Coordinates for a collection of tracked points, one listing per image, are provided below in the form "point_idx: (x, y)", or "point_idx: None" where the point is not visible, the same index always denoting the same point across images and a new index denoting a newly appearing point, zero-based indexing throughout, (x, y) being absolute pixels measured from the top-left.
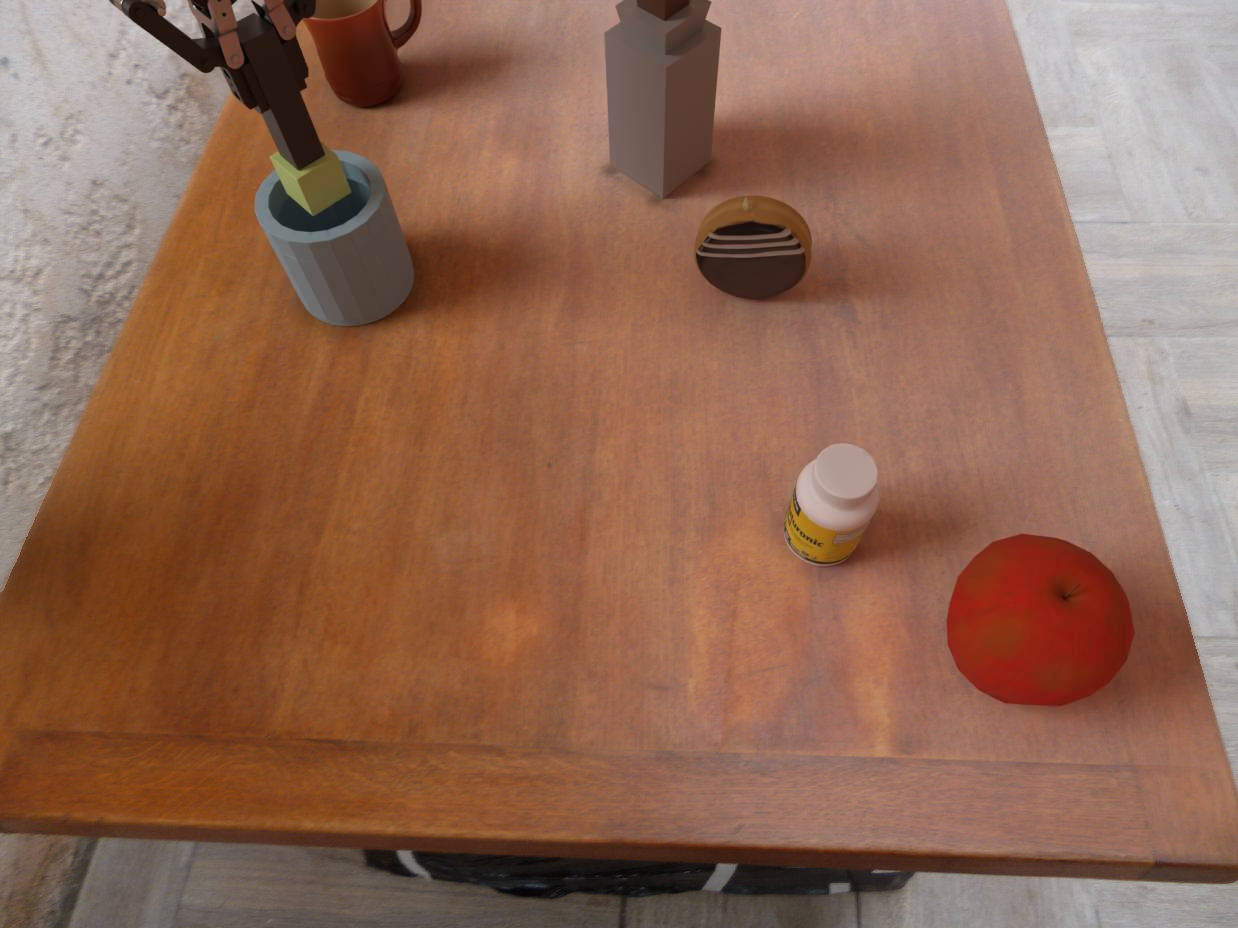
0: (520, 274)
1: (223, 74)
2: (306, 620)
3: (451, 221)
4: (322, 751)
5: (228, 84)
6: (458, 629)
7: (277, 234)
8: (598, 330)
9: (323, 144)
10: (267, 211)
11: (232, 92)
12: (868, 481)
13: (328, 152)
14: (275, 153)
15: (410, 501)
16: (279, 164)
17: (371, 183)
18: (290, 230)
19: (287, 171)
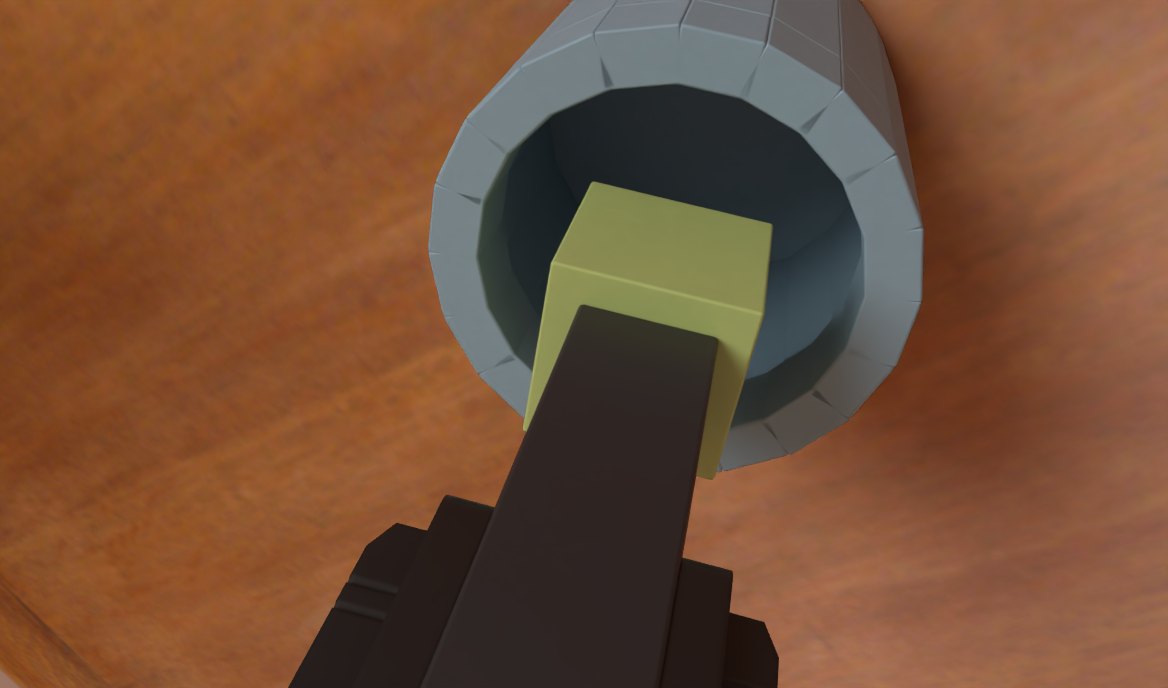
0: (955, 470)
1: (314, 642)
2: (95, 512)
3: (1071, 213)
4: (24, 617)
5: (340, 598)
6: (255, 684)
7: (440, 269)
8: (877, 662)
9: (733, 406)
10: (491, 166)
11: (359, 565)
12: None
13: (704, 450)
14: (578, 276)
15: (344, 543)
16: (541, 331)
17: (808, 396)
18: (478, 297)
19: (534, 375)
